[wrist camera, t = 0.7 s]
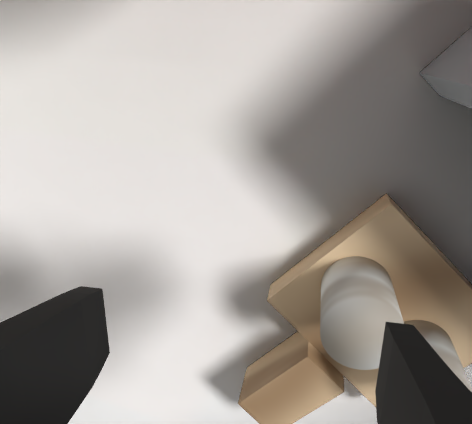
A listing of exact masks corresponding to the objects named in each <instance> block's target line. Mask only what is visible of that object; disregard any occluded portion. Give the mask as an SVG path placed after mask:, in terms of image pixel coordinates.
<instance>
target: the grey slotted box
mask: <svg viewBox="0 0 472 424" xmlns="http://www.w3.org/2000/svg"><path fill="white" fill-rule="evenodd" d="M420 74H421V75H422V77H423V78H424V79H425V80H426V81H427V82H428V83H429V84H430V86H431V87H432V88H433V89H434V90H435V91H436V92H437V93H438V95H439V96H441V97H444V98H446V99H449V100H451V101H454V102H456V103H459V104H461V105H463V106H466V107H468V108H471V109H472V27H471V28H470V29H469V30H467V31H466V32H465V33H464V34H463V35H462V36H461V37H460V38H458V39H457V40H456V41H455V42H454V43H453V44H452V45H451V46H449V47H448V48H447V49H446V50H445V51H444V52H443V53H441V54H440V55H439V56H438V57H437V58H436V59H435V60H434V61H432V62H431V63H430V64H429V65H428V66H427V67H426V68H424V69H423V70H422V71H421V72H420Z"/></svg>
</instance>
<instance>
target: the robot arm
mask: <svg viewBox="0 0 472 424" xmlns="http://www.w3.org/2000/svg"><path fill="white" fill-rule="evenodd" d="M109 353H110V352H109V343H108V335H107V326H106V317H105V308H104V300H103V291H102V289H99V288H90V287H82V286H81V287H78V288H76V289H73V290H70V291H68V292H66V293H63V294H61V295H59V296H57V297H54V298H52V299H50V300H48V301H46V302H44V303H41V304H39V305H37V306H35V307H33V308H31V309H29V310H27V311H24V312H22V313H20V314H18V315H16V316H14V317H12V318H10V319H7V320H5V321H3V322H1V323H0V424H67V423H68V422H69V421H70V419H71V418H72V416H73V415H74V413H75V412H76V410H77V409H78V407H79V406H80V405H81V403H82V402H83V400H84V399H85V397H86V396H87V394H88V393H89V391H90V390H91V388H92V387H93V385H94V383H95V381H96V379H97V377H98V375H99V373H100V372H101V369H102V367H103V365H104V363H105V361H106V359H107V357H108V355H109ZM375 394H376V409H377V423H378V424H472V392H471V391H470V390H469V389H468V388H467V387H466V386H465V385H464V383H463V382H462V381H461V380H460V379H459V378H458V377H457V376H456V375H455V374H454V372H453V371H452V370H451V369H450V368H449V367H448V366H447V364H446V363H445V362H444V361H443V360H442V358H441V357H440V356H439V355H438V354H437V353H436V351H435V350H434V349H433V348H432V347H431V345H430V344H429V343H428V342H427V341H426V339H425V338H424V337H423V336H422V335H421V333H420V332H419V331H418V330H417V329H416V328H415V326H414V325H410V324H402V323H393V322H386V324H385V330H384V337H383V343H382V350H381V357H380V363H379V370H378V376H377V383H376V390H375Z"/></svg>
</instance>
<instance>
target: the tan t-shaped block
mask: <svg viewBox="0 0 472 424" xmlns="http://www.w3.org/2000/svg"><path fill="white" fill-rule="evenodd" d="M267 301H268V302H269V303H270V304H271V305H272V306H273V307H274V308H275V309H276V310H277V311H278V312H279V313H280V314H281V315H282V316H283V317H284V318H285V319H286V320H287V321H288V322H289V323H290V324H291V325H292V326H293V327H294V328H295V329H296V330H297V331H298V332H296V333H295V334H293V335H292V336H291V337H289V338H288V339H286V340H285V341H284V342H282V343H281V344H279V345H278V346H277V347H275V348H274V349H272V350H271V351H269V352H268V353H267V354H265V355H264V356H262V357H261V358H260V359H258V360H257V361H255V362H254V363H253V364H251V365H250V366H248V367H247V369H246V373H245V377H244V381H243V385H242V389H241V393H240V397H239V401H238V404H239V405H240V406H241V407H242V408H243V409H244V410H245V411H246V412H247V413H249V414H250V415H251V416H252V417H253V418H254V419H255V420H256V421H257V422H258V423H259V424H292V423H294V422H296V421H297V420H299V419H301V418H302V417H304V416H306V415H307V414H309V413H310V412H312V411H314V410H315V409H317V408H319V407H320V406H322V405H324V404H325V403H327V402H329V401H330V400H332V399H333V398H335V397H337V396H338V395H340V394H342V393H343V392H344V381H343V376H344V377H345V378H346V379H347V380H349V381H350V382H351V383H352V384H353V385H354V386H355V387H356V388H357V389H358V390H359V391H360V392H361V393H362V394H363V395H364V396H365V397H366V398H367V399H368V400H369V401H370V402H371V403H372V404H373V405H374V406H375V407H376V394H375V390H376V383H377V376H378V370H379V363H380V357H381V350H382V343H383V337H384V330H385V324H386V322H393V323H402V324H410V325H414V326H415V328H416V329H417V330H418V331H419V332H420V333H421V335H422V336H423V337H424V338H425V339H426V341H427V342H428V343H429V344H430V345H431V347H432V348H433V349H434V350H435V351H436V353H437V354H438V355H439V356H440V357H441V358H442V360H443V361H444V362H445V363H446V364H447V366H448V367H449V368H450V369H451V370H452V371H453V372H454V374H455V375H456V376H457V377H458V378H459V379H460V380H461V381H462V382H463V383H464V385H465V386H466V387H467V388H468V389H469V390H470V391H471V392H472V386H471V384H470V382H469V379H468V377H467V375H466V372H465V370H464V367H466V366H468V365H470V364H472V284H471V283H470V282H469V281H468V280H467V279H466V278H465V277H464V275H463V274H462V273H461V272H460V271H459V270H458V269H457V268H456V267H455V266H454V265H453V264H452V263H451V262H450V261H449V259H448V258H447V257H446V256H445V255H444V254H443V253H442V252H441V251H440V250H439V249H438V248H437V247H436V246H435V245H434V244H433V242H432V241H431V240H430V239H429V238H428V237H427V236H426V235H425V234H424V233H423V232H422V231H421V230H420V229H419V228H418V226H417V225H416V224H415V223H414V222H413V221H412V220H411V219H410V218H409V217H408V216H407V215H406V214H405V213H404V212H403V211H402V209H401V208H400V207H399V206H398V205H397V204H396V203H395V202H394V201H393V200H392V199H391V198H390V197H389V196H388V195H387V193H386V194H385V195H384V196H383V197H381V198H380V199H379V200H378V201H376V202H375V203H374V204H372V205H371V206H370V207H369V208H367V209H366V210H365V211H364V212H362V213H361V214H360V215H358V216H357V217H356V218H355V219H353V220H352V221H351V222H350V223H348V224H347V225H346V226H344V227H343V228H342V229H341V230H339V231H338V232H337V233H336V234H334V235H333V236H332V237H330V238H329V239H328V240H327V241H325V242H324V243H323V244H322V245H320V246H319V247H318V248H316V249H315V250H314V251H313V252H311V253H310V254H309V255H308V256H306V257H305V258H304V259H302V260H301V261H300V262H299V263H297V264H296V265H295V266H294V267H292V268H291V269H290V270H288V271H287V272H286V273H285V274H283V275H282V276H281V277H280V278H278V279H277V280H276V281H275V282H273V283H272V284H271V285H270V289H269V293H268V298H267Z"/></svg>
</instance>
